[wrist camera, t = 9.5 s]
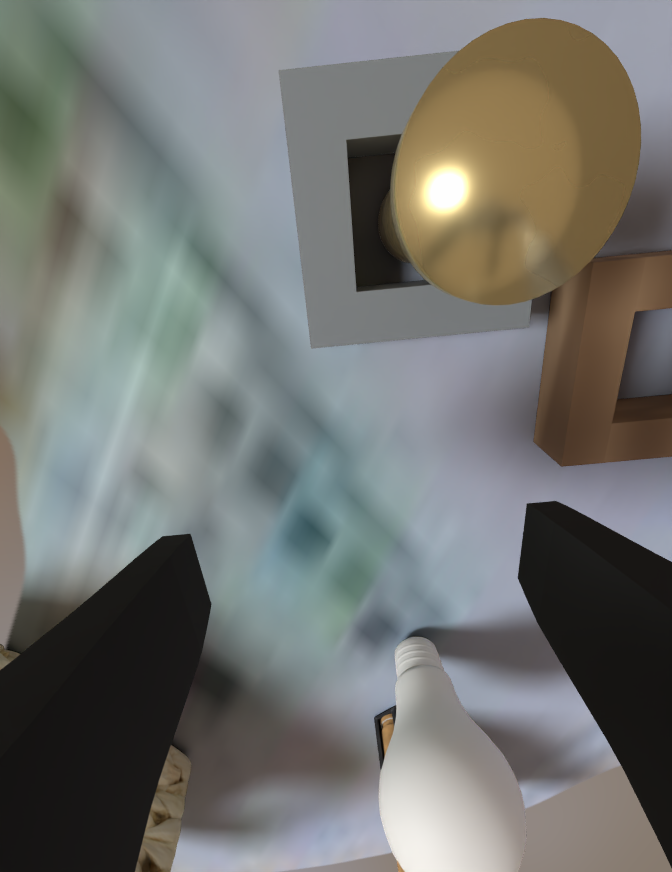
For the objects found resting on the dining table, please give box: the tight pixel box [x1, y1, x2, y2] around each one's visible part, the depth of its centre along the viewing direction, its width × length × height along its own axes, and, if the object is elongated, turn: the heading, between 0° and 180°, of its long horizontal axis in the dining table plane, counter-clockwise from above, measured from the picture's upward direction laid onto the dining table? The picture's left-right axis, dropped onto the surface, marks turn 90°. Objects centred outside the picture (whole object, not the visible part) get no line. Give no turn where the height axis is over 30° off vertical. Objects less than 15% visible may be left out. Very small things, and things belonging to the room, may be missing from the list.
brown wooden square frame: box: [533, 250, 672, 467], centre depth 16 cm, size 8×8×2 cm
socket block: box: [279, 51, 532, 349], centre depth 14 cm, size 8×8×2 cm
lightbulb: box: [379, 637, 527, 872], centre depth 20 cm, size 6×6×11 cm
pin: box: [378, 18, 641, 305], centre depth 11 cm, size 4×4×9 cm
